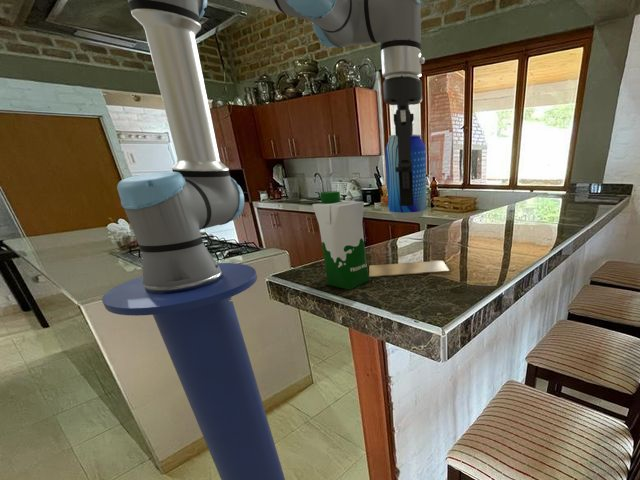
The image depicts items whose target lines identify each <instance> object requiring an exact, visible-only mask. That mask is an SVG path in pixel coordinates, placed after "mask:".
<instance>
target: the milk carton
mask: <svg viewBox="0 0 640 480" xmlns="http://www.w3.org/2000/svg"><path fill="white" fill-rule="evenodd" d="M319 195H320V201H321V202H316V203H313V204H312V208H313V211H314V214H315V217H316V220H317V223H318V226H319V232H320V233H319V234H320V239H321V246H322V252H323V259H324V267H325V277H326V278H325V279H326V285H327V286H331V287H336V288H340V289H345V290H353V289H355V288H356V287H358V286H362V285H363V284H365V283H367V282H369V281H370V277H369V268H368V265H367V257H366V247H365V238H364V227H363V219H364V218H363V217H364V205H365V202H364V201H356V200H345V199H344V200H341V194H340V191H337V190H336V191H335V190H334V191H332V190H331V191H321V192H320V194H319Z"/></svg>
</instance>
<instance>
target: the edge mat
mask: <svg viewBox="0 0 640 480" xmlns="http://www.w3.org/2000/svg"><path fill="white" fill-rule="evenodd" d="M448 272H450V269H449V267H448V266H447V264H445V262H444V261H443V260H430V261H429V260H428V261H415V262H403V263H402V262H401V263H388V264H370V265H369V267H368V274H369V278H381V277H394V276H406V275H407V276H409V275H421V274H435V273H448Z"/></svg>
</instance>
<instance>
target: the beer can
mask: <svg viewBox="0 0 640 480" xmlns="http://www.w3.org/2000/svg"><path fill="white" fill-rule="evenodd" d="M388 138H389V139H388V141H387V143H386V145H385V148H384V152H385V170H386V186H387V201H388V202H387V203H388V212H389V213H390V214H391V216H392V218H395V219H403V220H404V219H405V220H408V219H409V220H410V219H417V218H418V219H419V218H422V217H423V216H424V215H425V213H426V211H427V150H426V145H425V143H424V141H423V139H422V134H413V135H411V137H410V139H411V163H412V170H411V171H409V172H412V180H413V206H400V188H399V172H396V171H395V167H398V163H399V160H398V137H397V136H396V134H392V135H389V136H388Z"/></svg>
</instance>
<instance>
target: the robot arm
mask: <svg viewBox="0 0 640 480" xmlns="http://www.w3.org/2000/svg"><path fill="white" fill-rule="evenodd" d="M233 1H234V2H238V3H243V4H246V5H250V6H252V7H253V6H254V7H259V8H260V9H261V8H262V9H266V10H269V11H273V12H276V13H280V14H284V15H287V16H290V17H294V18H298V19H302V20H305V21H308V22H311V23H312V28H313V31H314V33H315V35H316V37H317V38H318V41H319V43H321V45H323V47H326V48H338V49H342V48H345V47H353V46H362V45H372V44H380V62H381V77H383V79H384V81H383V82H382V90H383V92H382V93H383V102H384V103H385V104H386V105H389V106H396V110H395V113H393V124H394V131H395V134H394V135H396V136H397V137H398V160H399V163H398V167H395V171H396V172H399V188H400V206H413V180H412V172H409V171H411V170H412V163H411V139H410V137H411V135H414V128H413V126H414V125H415V124H414V123H415V120H414V119H415V117H414V115H415V114H414V113H411V110H410V106H412V105H413V106H414V105H418V104H421V103H422V101H423V82H422V81H421V79H420V78H421V77H422V64H423V65H424V64H425V62H426V61H425V57H422V25H421V24H422V17H421V16H422V14H421V13H422V11H421V10H422V5H421V0H233ZM127 2H128V6H129V10H130V13H131V16H132V17H133V18H134V19H135V20H136V21H137V22H138V23H139V24H140V25H141V26H142V27H143V30H144V32H145V33H144V34H145V36H146V41H147V44H148V48H149V52H150V56H151V61H152V65H153V68H154V72H155V76H156V80H157V84H158V88H159V92H160V96H161V100H162V103H163V108H164V111H165V115H166V120H167V124H168V127H169V131H170V135H171V139H172V143H173V147H174V150H175V151H174V152H175V155H176V158H177V160H176V162H174V164H173V166H172V167H171V170H172V171H160V172H158V171H157V172H151V173H143V174H137V175H132V176H129V177H126V178H123V179H121V180H120V181H119V182H118V184H117V187H116V189H117V192H118V196H119V198H120V205H121V207H122V208H123V210H124V211H125V214H126V217H127V219H128V221H129V224H130V227H131V229H132V232H133V235H134V237H135V240H136V242H137V245H138V247H139V249H140V252H141V257H142V260H141V261H142V265H141V266H142V269H141V270H142V271H141V272H142V276H143V278H142V281H143V285H144V287H145V290H146V291H147V292H149V293H154V294H169V293H178V292H184V291H190V290H194V289H198V288H202V287H205V286H208V285H210V284H213V283H215V282H217V281H218V280H220V279H221V278H222V276H223V275H222V272H221V269H220V267H219V266H218V264H217V263H218V262H217V261H216V260H215V259H214V257H213V256H212V254H211V252H209V251H210V250H208V249H207V247H206V246H205V243H204V239H203V236H202V233H201V230H205V229H208V228H213V227H216V226H223V225H226V224H228V223H230V222H232V221H235V220H236V219H238V218H239V217H240V215H241V214H242V213H243V210H244V207H245V195H244V192H243V189H242V187H241V186H240V184H238V183H237V181H236V180H235V179H234V178H233V177H231V174H230V169H229V167H228V166H226V165H225V163H223V162H222V161H221V159H220V153H219V149H218V144H217V139H216V133H215V129H214V124H213V119H212V114H211V109H210V105H209V104H210V103H209V99H208V95H207V90H206V85H205V79H204V74H203V70H202V65H201V60H200V55H199V49H198V45H197V40H196V35H197V34H198V33H199V32H200V31H201V29H202V25H201V24H202V23H201V19H202V18H203V17H204V15H205V8H207V7H208V0H127Z"/></svg>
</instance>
